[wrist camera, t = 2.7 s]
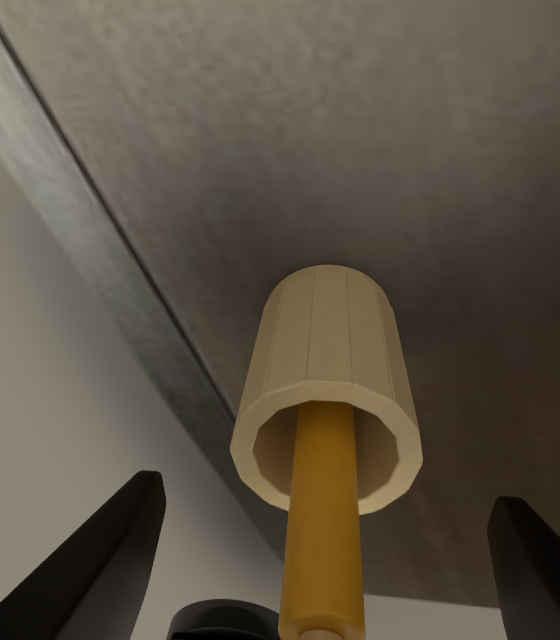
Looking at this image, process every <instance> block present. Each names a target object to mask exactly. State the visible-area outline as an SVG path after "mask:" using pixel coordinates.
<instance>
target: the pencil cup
mask: <svg viewBox="0 0 560 640" xmlns="http://www.w3.org/2000/svg"><path fill="white" fill-rule="evenodd" d="M309 400H317V401H335V402H347V403H349V404H351V405H353V413H354V431H355V450H356V468H357V487H358V505H359V515H363V514H367V513H372V512H376V511H377V510H380V509H382V508H383V507H385V506H386V505H388V504H389V503H391V502H392V501H394V500H395V499H397V498H398V497H400V496H401V495H403V494H404V493H406V491H407V490H409V488H410V486H411V484H412V482H413V480H414V479H415V477H416V475H417V473H418V471H419V469H420V468H421V466H422V462H423V454H422V446H421V437H420V430H419V426H418V421H417V416H416V412H415V407H414V402H413V398H412V393H411V389H410V384H409V379H408V375H407V370H406V366H405V361H404V356H403V352H402V347H401V342H400V338H399V333H398V329H397V324H396V319H395V315H394V311H393V309H392V306H391V303H390V301H389V299H388V297H387V295H386V294H385V292H384V291H383V289H382V288H381V287H380V286H379V285H378V284H377V283H376V282H375V281H374V280H373V279H371V278H370V277H368V276H367V275H365V274H363V273H361V272H359V271H357V270H355V269H352V268H349V267H345V266H340V265H331V264H329V265H316V266H311V267H307V268H303V269H301V270H299V271H296V272H294V273H292V274H291V275H289V276H287V277H286V278H285V279H283V280H282V281H281V282H280V283H279V284H278V285H277V286H276V287H275V288H274V289H273V291H272V292H271V293H270V295H269V297H268V299H267V301H266V304H265V306H264V310H263V314H262V318H261V322H260V326H259V330H258V334H257V338H256V342H255V346H254V350H253V354H252V358H251V362H250V366H249V370H248V374H247V378H246V383H245V387H244V391H243V395H242V399H241V403H240V407H239V411H238V415H237V419H236V423H235V427H234V431H233V436H232V440H231V444H230V452H231V455H232V458H233V460H234V463H235V465H236V468H237V471H238V473H239V476H240V478H241V479H242V481H243V482H244V483H245V484H246V485H248V486H249V487H250V488H251V489H252V490H253V491H254V492H255V493H256V494H258V495H259V496H260V497H261V498H262V499H263V500H264V501H266V502H268V503H269V504H271V505H274V506H276V507H279V508H281V509H284V510H286V511H289V505H290V494H291V483H292V472H293V461H294V450H295V439H296V428H297V417H298V406H299V404H300V403H303V402H306V401H309Z"/></svg>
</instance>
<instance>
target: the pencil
mask: <svg viewBox="0 0 560 640" xmlns="http://www.w3.org/2000/svg"><path fill="white" fill-rule="evenodd" d="M278 632H279V635H280V638H281V640H365V618H364V599H363V580H362V561H361V543H360V524H359V505H358V487H357V468H356V450H355V431H354V413H353V405H351V404H349V403H347V402H335V401H317V400H309V401H306V402H303V403H300V404H299V406H298V417H297V428H296V439H295V450H294V461H293V472H292V483H291V494H290V505H289V516H288V527H287V538H286V549H285V560H284V571H283V582H282V593H281V604H280V614H279V625H278Z"/></svg>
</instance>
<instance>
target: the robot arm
mask: <svg viewBox="0 0 560 640" xmlns="http://www.w3.org/2000/svg"><path fill="white" fill-rule="evenodd" d="M165 509H166V496H165V491H164V486H163V480H162V476H161V474H160V472H157V471H145V470H144V471H139V472H137V473H136V474H135V475H134V476H133V477H132V478H131V479H130V480H129V481H128V482H127V483H126V484H125V485H124V486H123V487H121V489H119V490H118V491H117V492H116V493H115V494H114V495H113V496H112V497H111V498H110V499H109V500H108V501H107V502H106V503H105V504H104V505H102V507H100V508H99V509H98V510H97V511H96V512H95V513H94V514H93V515H92V516H91V517H90V518H89V519H88V520H87V521H86V522H85V523H83V524H82V525H81V526H80V527H79V528H78V529H77V530H76V531H75V532H74V533H73V534H72V535H71V536H70V537H69V538H68V539H67V540H66V541H64V542H63V543H62V544H61V545H60V546H59V547H58V548H57V549H56V550H55V551H54V552H53V553H52V554H51V555H50V556H49V557H48V558H47V559H46V560H45V561H43V562H42V563H41V564H40V565H39V566H38V567H37V568H36V569H35V570H34V571H33V572H32V573H31V574H30V575H29V576H28V577H27V578H25V580H23V581H22V582H21V583H20V584H19V585H18V586H17V587H16V588H15V589H14V590H13V591H12V592H11V593H10V594H9V595H8V596H7V597H6V598H4V599H3V600H2V601H1V602H0V640H130V637H131V635H132V632H133V629H134V626H135V623H136V620H137V617H138V614H139V611H140V609H141V606H142V603H143V600H144V597H145V593H146V590H147V587H148V583H149V579H150V574H151V570H152V566H153V562H154V557H155V553H156V549H157V545H158V540H159V535H160V531H161V527H162V523H163V518H164V514H165ZM487 533H488V541H489V546H490V552H491V558H492V564H493V569H494V575H495V581H496V586H497V592H498V598H499V604H500V609H501V614H502V619H503V623H504V627H505V631H506V635H507V638H508V640H560V537H559V536H558V535H557V534H556V533H555V532H554V531H553V530H552V529H551V528H550V527H549V526H548V525H547V524H546V523H545V521H544V520H543V519H542V518H541V517H540V516H539V515H538V514H537V513H536V512H535V511H534V510H533V509H532V508H531V507H530V506H529V505H528V504H527V503H526V502H525V501H524V500H523V499H521V498H519V497H510V496H499V497H498V498H497V499H496V501H495V504H494V507H493V510H492V513H491V516H490V519H489V522H488V527H487ZM170 640H256V639H246V638H236V637H226V636H216V635H205V634H195V633H185V632H173V633H172V634H171V636H170Z"/></svg>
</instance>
